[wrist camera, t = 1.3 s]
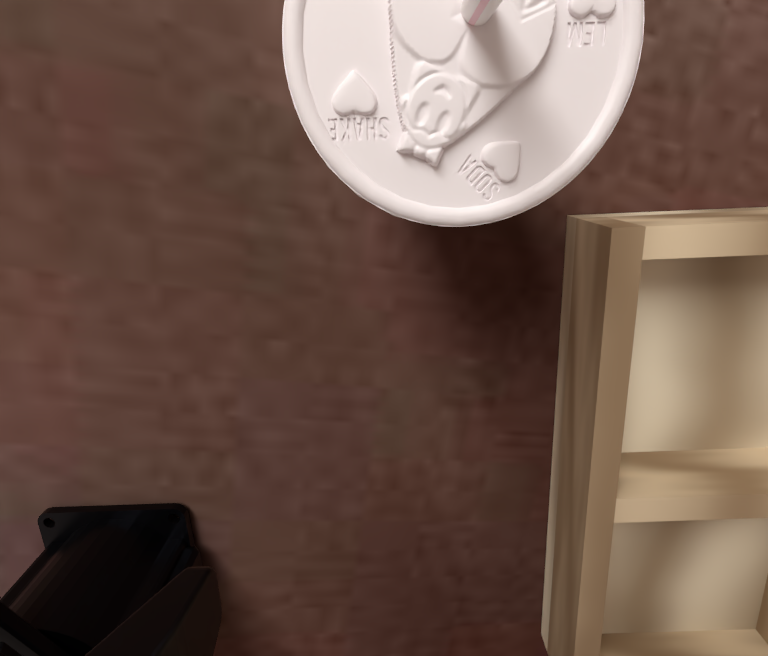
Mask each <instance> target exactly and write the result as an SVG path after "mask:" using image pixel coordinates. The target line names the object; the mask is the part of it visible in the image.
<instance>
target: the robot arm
mask: <svg viewBox="0 0 768 656" xmlns="http://www.w3.org/2000/svg"><path fill="white" fill-rule="evenodd" d="M172 514H176V515H178V516H179V518H177V517H174V516H173V515H172ZM50 518H51V519H53V520H54V521H52V520H50ZM38 525H39V529H40V532H41V535H42V539H43V542H44V546H45V550H44V551H43V552H42V553H41V555H40V556H39V557H38V558H37V559H36V560H35V561H34V562H33V564H32V565H31V566H30V567H29V568H28V569H27V570H26V571H25V573H24V574H23V575H22V576H21V577H20V578H19V579H18V580H17V582H16V583H15V584H14V585H13V586H12V587H11V588H10V590H9V591H8V592H7V593H6V594H5V595H4V596H3V597H2V599H1V600H0V656H213V653H214V649H215V645H216V640H217V636H218V632H219V627H220V623H221V613H222V611H221V601H220V595H219V589H218V582H217V576H216V572H215V570H214V568H212V567H209V566H206V567H203V566H202V560H201V554H200V551H199V550H198V549H197V547H195V544H194V539H193V533H192V528H191V523H190V517H189V512H188V510H187V508H186V507H185V506H184V505H182V504H178V503H167V504H138V505H108V506H79V507H52V508H48V509H46V510H45V511H44V512H43V513H42V514H41V515H40V516H39V518H38ZM0 598H1V597H0Z"/></svg>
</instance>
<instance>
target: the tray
mask: <svg viewBox="0 0 768 656" xmlns="http://www.w3.org/2000/svg"><path fill="white" fill-rule="evenodd" d="M541 635H542V638H543V641H544V644H545V647H546V650H547V653H548V656H768V207H754V208H730V209H707V210H683V211H660V212H636V213H612V214H589V215H567V227H566V243H565V259H564V275H563V291H562V307H561V323H560V339H559V355H558V371H557V387H556V403H555V419H554V435H553V451H552V467H551V483H550V498H549V514H548V530H547V546H546V562H545V578H544V594H543V610H542V626H541Z"/></svg>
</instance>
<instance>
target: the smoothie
mask: <svg viewBox="0 0 768 656" xmlns="http://www.w3.org/2000/svg"><path fill="white" fill-rule="evenodd" d="M643 32H644V0H285V1H284V8H283V23H282V43H283V57H284V65H285V72H286V76H287V81H288V86H289V90H290V93H291V96H292V100H293V103H294V106H295V109H296V111H297V114H298V116H299V119H300V121H301V123H302V125H303V127H304V129H305V131H306V133H307V135H308V137H309V139H310V141H311V142H312V144H313V145H314V147H315V148H316V150H317V152H318V153H319V155H320V156H321V157H322V158H323V160H324V161H325V163H326V165H327V166H328V167H329V168H330V169H331V170H332V171H333V172H334V173H335V174H336V175H337V176H338V177H339V178H340V179H341V180H342V181H343V182H344V183H345V184H346V185H347V186H348V187H349V188H350V189H351V190H353V191H354V192H355V193H356V194H357V195H358V196H359V197H361V198H363V199H365V200H366V201H368V202H370V203H372V204H374V205H375V206H377V207H379V208H380V209H382V210H384V211H386V212H388V213H390V214H391V215H393V216H396V217H400V218H404V219H407V220H410V221H414V222H418V223H423V224H427V225H433V226H445V227H464V226H476V225H482V224H487V223H492V222H496V221H500V220H503V219H507V218H509V217H512V216H515V215H517V214H520V213H522V212H524V211H526V210H528V209H530V208H532V207H535V206H537V205H538V204H540V203H542V202H543V201H545V200H546V199H548V198H550V197H551V196H553V195H554V194H555V193H557V192H558V191H559V190H561V189H562V188H563V187H565V186H566V185H567V184H568V183H569V182H570V181H572V180H573V179H574V178H575V177H576V176H577V175H578V174H579V173H580V172H581V171H582V170H583V169H584V168H585V167H586V166H587V165H588V164H589V163H590V162H591V160H592V159H593V158H594V157H595V155H596V154H597V153H598V151H599V150H600V149H601V148H602V146H603V145H604V143H605V142H606V140H607V139H608V137H609V136H610V134H611V133H612V131H613V129H614V127H615V125H616V124H617V122H618V120H619V118H620V116H621V114H622V112H623V110H624V107H625V105H626V103H627V100H628V98H629V95H630V93H631V90H632V87H633V84H634V81H635V77H636V73H637V69H638V65H639V61H640V56H641V49H642V43H643Z"/></svg>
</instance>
